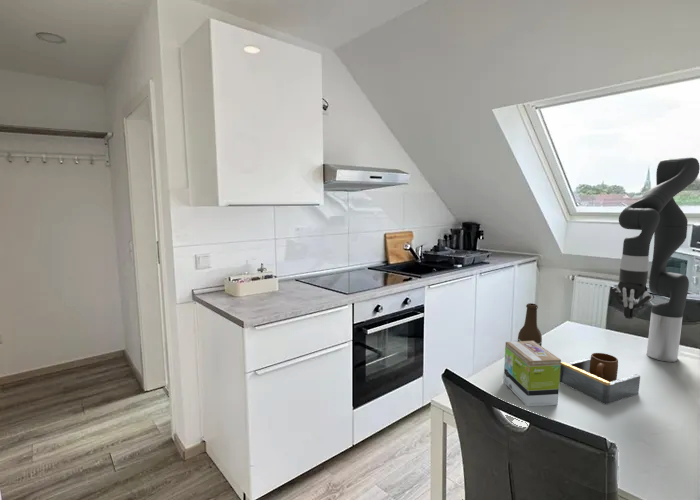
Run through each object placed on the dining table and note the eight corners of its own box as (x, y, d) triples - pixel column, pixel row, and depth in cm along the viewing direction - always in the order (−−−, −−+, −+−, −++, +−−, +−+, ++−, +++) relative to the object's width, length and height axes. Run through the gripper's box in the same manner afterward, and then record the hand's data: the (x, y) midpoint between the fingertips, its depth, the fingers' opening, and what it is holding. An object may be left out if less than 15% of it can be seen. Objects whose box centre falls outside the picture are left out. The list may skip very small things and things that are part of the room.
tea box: (502, 383, 126) (504, 340, 124) (530, 381, 127) (533, 339, 125) (526, 407, 112) (529, 359, 109) (559, 406, 112) (562, 358, 110)
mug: (611, 397, 117) (614, 368, 116) (582, 389, 122) (585, 361, 121) (617, 383, 126) (620, 356, 124) (591, 376, 131) (593, 350, 130)
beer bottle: (538, 366, 139) (542, 302, 136) (541, 375, 132) (546, 308, 128) (515, 362, 142) (519, 300, 138) (516, 371, 134) (521, 306, 131)
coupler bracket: (590, 373, 133) (592, 354, 132) (638, 393, 119) (640, 373, 118) (559, 381, 127) (560, 362, 126) (605, 404, 113) (607, 383, 112)
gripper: (663, 270, 122) (657, 322, 125) (620, 264, 134) (615, 311, 137) (649, 272, 119) (644, 325, 122) (606, 266, 131) (602, 314, 134)
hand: (629, 318), depth 129 cm, fingers closed
